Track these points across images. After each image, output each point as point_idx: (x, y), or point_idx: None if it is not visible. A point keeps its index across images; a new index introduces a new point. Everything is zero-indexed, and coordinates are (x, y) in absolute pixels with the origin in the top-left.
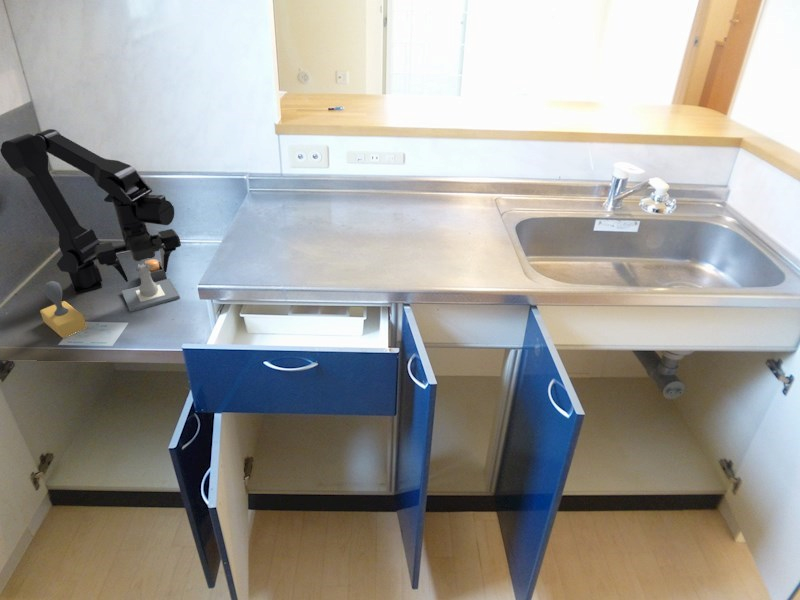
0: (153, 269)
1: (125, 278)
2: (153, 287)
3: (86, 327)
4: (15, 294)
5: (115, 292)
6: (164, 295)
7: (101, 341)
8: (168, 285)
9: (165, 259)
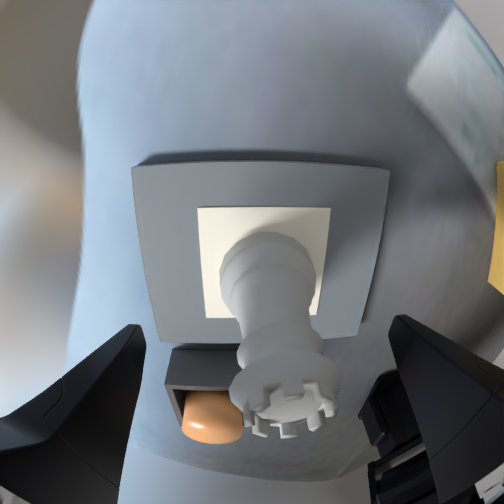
0: (210, 399)
1: (421, 326)
2: (246, 261)
3: (498, 162)
4: None
5: (365, 340)
6: (202, 206)
7: (479, 54)
8: (168, 292)
9: (66, 397)
